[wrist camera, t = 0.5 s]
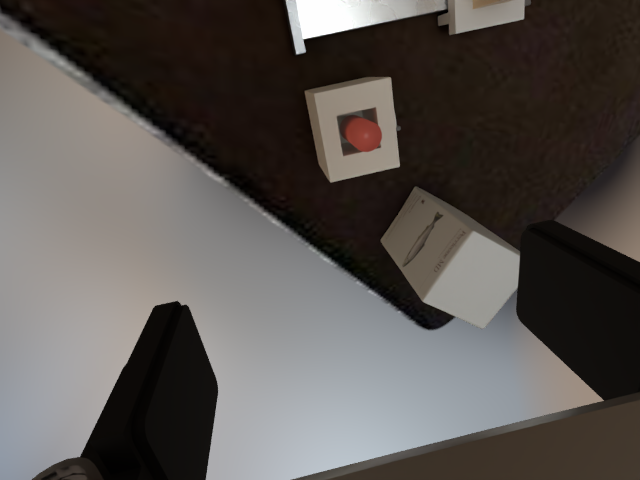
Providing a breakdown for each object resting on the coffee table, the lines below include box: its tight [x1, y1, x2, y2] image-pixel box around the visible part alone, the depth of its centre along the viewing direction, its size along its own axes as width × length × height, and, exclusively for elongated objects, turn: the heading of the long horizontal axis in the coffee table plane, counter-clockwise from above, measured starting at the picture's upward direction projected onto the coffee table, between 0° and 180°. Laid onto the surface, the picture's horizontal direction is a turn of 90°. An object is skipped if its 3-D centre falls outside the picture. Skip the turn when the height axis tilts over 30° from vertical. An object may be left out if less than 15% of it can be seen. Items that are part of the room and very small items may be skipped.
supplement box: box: [380, 186, 520, 329], centre depth 36 cm, size 7×7×13 cm
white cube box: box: [305, 77, 401, 183], centre depth 33 cm, size 7×7×7 cm
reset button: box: [340, 115, 382, 152], centre depth 29 cm, size 2×2×5 cm
